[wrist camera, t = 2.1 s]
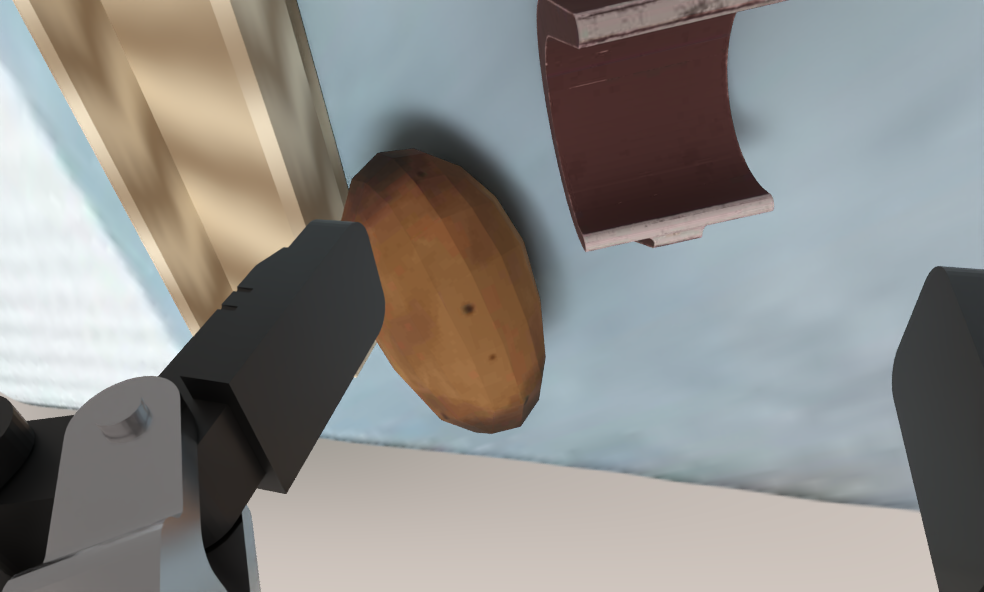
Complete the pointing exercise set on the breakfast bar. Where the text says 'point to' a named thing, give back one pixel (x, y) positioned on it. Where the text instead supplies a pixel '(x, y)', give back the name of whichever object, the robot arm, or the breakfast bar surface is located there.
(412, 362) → the potato
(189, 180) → the wooden tray
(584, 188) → the bracket
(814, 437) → the breakfast bar surface
